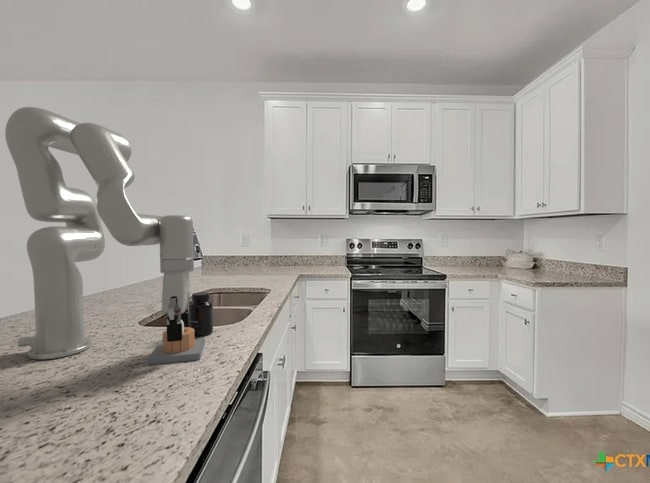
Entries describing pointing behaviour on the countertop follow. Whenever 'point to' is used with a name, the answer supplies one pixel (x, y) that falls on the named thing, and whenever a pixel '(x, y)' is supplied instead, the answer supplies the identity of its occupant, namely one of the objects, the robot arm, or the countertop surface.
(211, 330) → the supplement bottle
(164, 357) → the post block
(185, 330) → the ring
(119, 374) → the countertop surface
